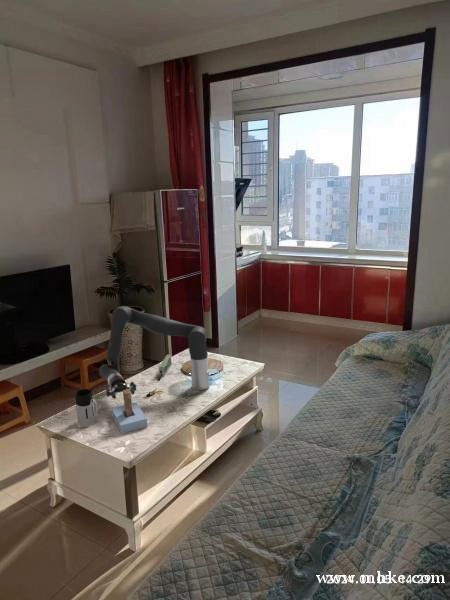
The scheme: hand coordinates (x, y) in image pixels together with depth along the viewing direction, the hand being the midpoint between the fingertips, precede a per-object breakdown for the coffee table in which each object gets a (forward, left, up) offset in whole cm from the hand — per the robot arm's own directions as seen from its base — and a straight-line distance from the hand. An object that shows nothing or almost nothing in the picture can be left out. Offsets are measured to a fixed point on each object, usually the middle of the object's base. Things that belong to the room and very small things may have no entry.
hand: (124, 394), depth 205 cm
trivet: (-35, -54, -11) cm, 65 cm away
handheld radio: (-13, -50, -11) cm, 53 cm away
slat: (-3, +6, -9) cm, 12 cm away
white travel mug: (+15, +7, -11) cm, 20 cm away
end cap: (-3, +6, -10) cm, 12 cm away
